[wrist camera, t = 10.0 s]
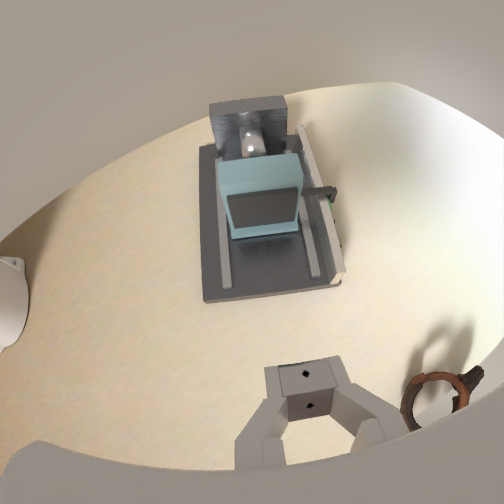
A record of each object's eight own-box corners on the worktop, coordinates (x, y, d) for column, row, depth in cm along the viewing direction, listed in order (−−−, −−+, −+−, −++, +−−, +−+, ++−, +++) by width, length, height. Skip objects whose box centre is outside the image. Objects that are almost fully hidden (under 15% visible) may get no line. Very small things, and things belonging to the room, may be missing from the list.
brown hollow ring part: (420, 452, 23) (424, 460, 17) (386, 404, 30) (382, 399, 24) (488, 391, 22) (506, 382, 16) (451, 346, 29) (460, 327, 23)
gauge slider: (334, 226, 33) (352, 180, 25) (232, 239, 34) (219, 194, 25) (325, 193, 35) (338, 143, 27) (229, 204, 35) (217, 155, 27)
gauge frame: (338, 286, 32) (361, 256, 23) (206, 303, 32) (182, 279, 24) (300, 141, 42) (304, 94, 33) (201, 153, 42) (187, 108, 33)
